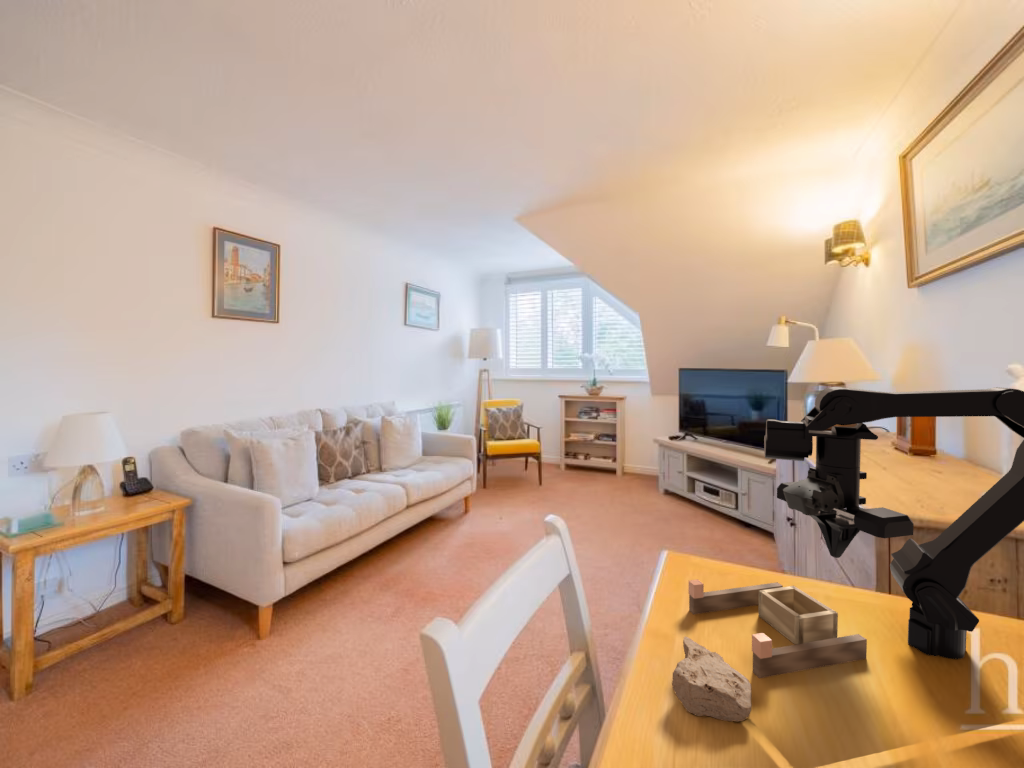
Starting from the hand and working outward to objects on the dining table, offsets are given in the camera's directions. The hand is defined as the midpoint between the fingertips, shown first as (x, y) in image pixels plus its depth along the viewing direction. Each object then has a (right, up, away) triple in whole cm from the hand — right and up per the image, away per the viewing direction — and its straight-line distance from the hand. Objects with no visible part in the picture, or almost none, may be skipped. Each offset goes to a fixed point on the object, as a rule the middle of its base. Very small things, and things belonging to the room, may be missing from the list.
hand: (835, 556), depth 68 cm
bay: (-12, -12, -2) cm, 17 cm away
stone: (-28, -14, -13) cm, 33 cm away
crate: (-7, -11, -1) cm, 13 cm away
